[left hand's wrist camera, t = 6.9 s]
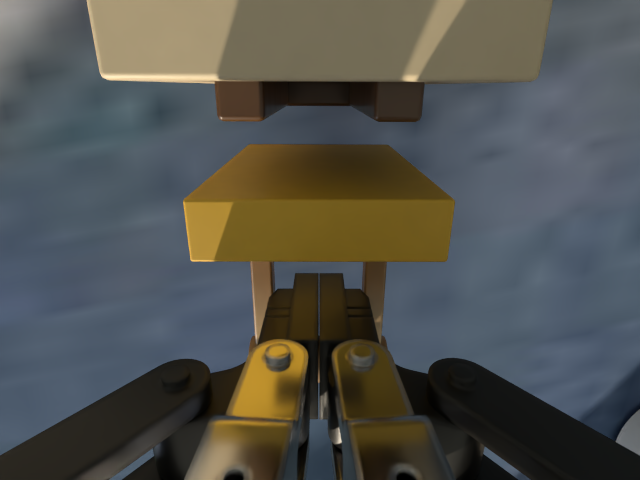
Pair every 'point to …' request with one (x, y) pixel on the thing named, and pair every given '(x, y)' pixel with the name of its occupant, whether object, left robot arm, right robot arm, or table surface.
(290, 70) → the beige plug-in box
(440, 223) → the drawer
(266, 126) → the table surface
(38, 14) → the table surface
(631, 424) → the coffee cup
